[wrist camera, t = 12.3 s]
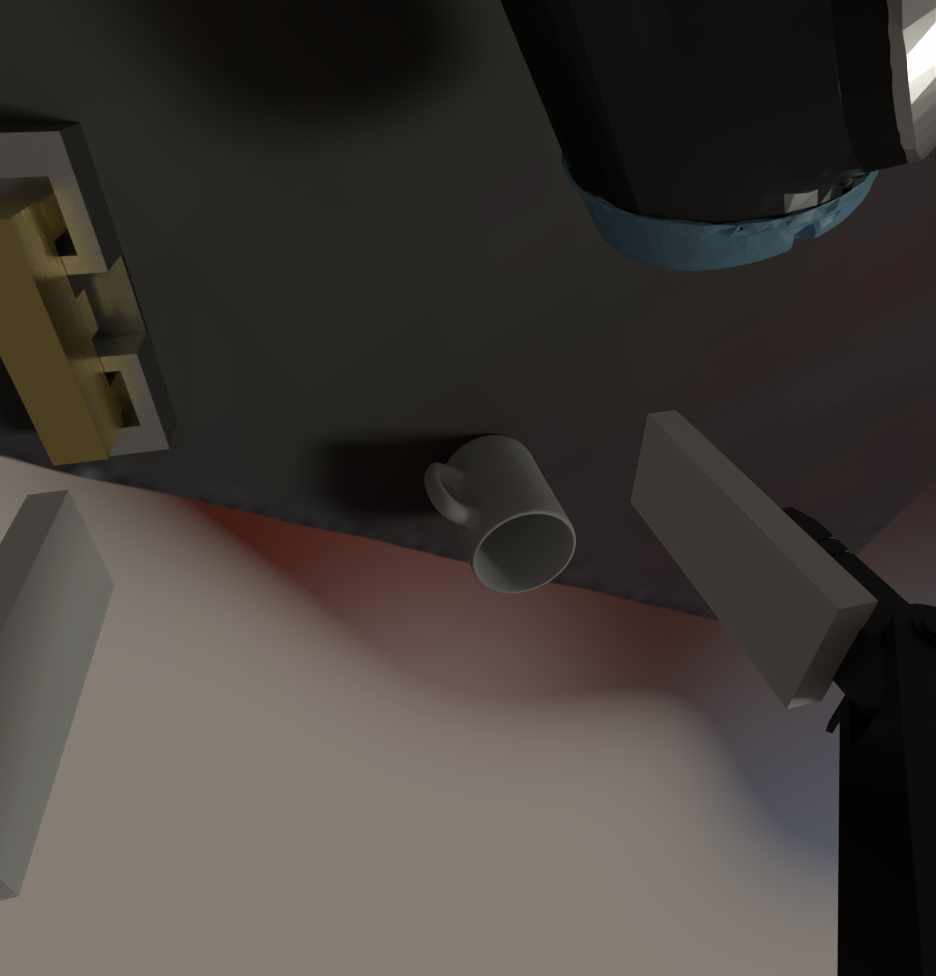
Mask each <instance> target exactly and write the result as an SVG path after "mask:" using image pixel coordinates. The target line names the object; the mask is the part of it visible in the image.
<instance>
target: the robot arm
mask: <svg viewBox="0 0 936 976" xmlns="http://www.w3.org/2000/svg"><path fill="white" fill-rule="evenodd" d="M500 1H501V3H502V5H503V8H504V10H505V13H506V15H507V18H508V20H509V22H510V25H511V27H512V30H513V32H514V35H515V37H516V40H517V42H518V44H519V47H520V49H521V52H522V54H523V57H524V59H525V62H526V64H527V66H528V69H529V71H530V74H531V76H532V79H533V81H534V84H535V86H536V88H537V91H538V93H539V96H540V98H541V101H542V103H543V105H544V108H545V110H546V113H547V115H548V118H549V120H550V123H551V125H552V127H553V130H554V132H555V135H556V137H557V140H558V142H559V145H560V147H561V149H562V163H563V166H564V169H565V172H566V174H567V177H568V179H569V181H570V182H571V184H572V185H573V186H574V188H576V190H577V191H578V192H579V194H580V195H581V196H582V198H583V200H584V202H585V204H586V207H587V209H588V211H589V213H590V215H591V217H592V220H593V222H594V224H595V226H596V228H597V230H598V231H599V233H600V235H601V236H602V237H603V238H604V239H605V241H607V242H608V243H609V244H610V245H611V246H613V247H614V248H615V249H616V250H617V251H618V252H619V253H621V254H622V255H624V256H625V257H627V258H629V259H631V260H634V261H636V262H639V263H641V264H644V265H647V266H651V267H655V268H661V269H668V270H681V271H699V270H714V269H723V268H729V267H735V266H740V265H745V264H749V263H753V262H756V261H760V260H763V259H767V258H770V257H773V256H776V255H779V254H781V253H784V252H786V251H788V250H790V248H791V247H792V244H793V240H794V239H797V238H808V239H815V238H817V237H818V236H820V235H822V234H823V233H825V232H827V231H829V230H830V229H832V228H833V227H835V226H836V225H838V224H839V223H840V222H842V221H843V220H844V219H845V218H846V217H848V216H849V215H850V214H851V213H852V212H853V211H854V210H855V208H856V207H857V206H858V205H859V204H860V203H861V202H862V201H863V199H864V198H865V197H866V195H867V193H868V192H869V190H870V188H871V185H872V183H873V181H874V179H875V177H876V175H877V174H878V171H879V170H881V169H885V168H889V167H894V166H898V165H902V164H906V163H911V162H915V161H919V160H922V159H924V158H925V157H926V156H927V155H928V154H929V153H930V152H931V151H932V150H933V149H934V148H935V147H936V0H500ZM631 503H632V504H633V505H634V507H635V508H636V509H637V511H638V512H639V513H640V515H641V516H642V517H643V519H644V520H645V521H646V523H647V524H648V525H649V527H650V528H651V529H652V531H653V532H654V533H655V535H656V536H657V537H658V539H659V540H660V541H661V543H662V544H663V545H664V547H665V548H666V549H667V551H668V552H669V553H670V555H671V556H672V557H673V559H674V560H675V561H676V563H677V564H678V565H679V567H680V568H681V569H682V571H683V572H684V573H685V575H686V576H687V577H688V579H689V580H690V581H691V582H692V584H693V585H694V586H695V588H696V589H697V590H698V592H699V593H700V594H701V596H702V597H703V598H704V600H705V601H706V602H707V604H708V605H709V606H710V608H711V609H712V610H713V612H714V613H715V614H716V616H717V617H718V618H719V620H720V621H721V622H722V624H723V625H724V626H725V628H726V629H727V630H728V632H729V633H730V634H731V636H732V637H733V638H734V640H735V641H736V642H737V643H738V645H739V646H740V647H741V649H742V650H743V652H744V653H745V654H746V656H747V657H748V658H749V659H750V661H751V662H752V663H753V665H754V666H755V667H756V669H757V670H758V671H759V673H760V674H761V675H762V677H763V678H764V679H765V681H766V682H767V683H768V685H769V686H770V687H771V689H772V690H773V691H774V693H775V694H776V695H777V697H778V698H779V699H780V701H781V702H782V703H783V705H784V706H785V707H786V709H789V708H794V707H798V706H802V705H806V704H810V703H814V702H818V701H822V699H823V697H824V696H825V694H826V692H827V690H828V689H829V687H830V685H831V683H832V682H833V681H834V682H835V683H836V684H837V685H838V686H839V688H840V689H841V690H842V691H843V692H844V693H845V696H844V698H843V699H842V701H841V703H840V704H839V706H838V708H837V709H836V711H835V713H834V714H833V716H832V718H831V719H830V721H829V723H828V726H827V729H826V731H827V732H830V733H833V731H834V730H835V728H836V726H837V725H838V724H839V723H840V759H839V768H840V769H839V868H838V869H839V872H838V976H936V607H934V606H928V605H923V604H909V603H908V602H906V601H905V600H904V599H903V598H902V597H901V596H900V595H899V594H897V593H896V592H895V591H894V590H893V589H892V588H891V587H889V585H887V584H886V583H885V582H884V581H883V580H882V579H881V578H880V577H879V576H878V575H876V574H875V573H874V572H873V571H872V570H871V569H870V568H868V566H866V565H865V564H864V563H863V562H862V561H861V560H860V559H859V558H857V557H856V556H855V555H854V554H850V553H849V549H848V548H846V547H845V546H844V545H843V544H842V543H841V542H840V541H839V540H835V539H834V536H833V535H832V534H831V533H830V532H829V531H828V530H826V529H825V528H824V527H823V526H822V525H821V524H820V523H819V522H818V521H816V520H815V519H813V518H811V517H809V516H807V515H806V514H804V513H802V512H800V511H798V510H796V509H794V508H793V507H789V508H783V509H780V508H779V507H778V506H777V505H776V504H775V503H774V502H773V501H772V500H771V499H770V498H769V497H768V496H767V495H765V494H764V493H763V492H762V491H761V490H760V489H759V488H758V487H757V486H756V485H755V484H754V483H753V482H752V481H751V480H750V479H749V478H747V477H746V476H745V475H744V474H743V473H742V472H741V471H740V470H739V469H738V468H737V467H736V466H735V465H734V464H733V463H732V462H730V461H729V460H728V459H727V458H726V457H725V456H724V455H723V454H722V453H721V452H720V451H719V450H718V449H717V448H716V447H715V446H713V445H712V444H711V443H710V442H709V441H708V440H707V439H706V438H705V437H704V436H703V435H702V434H701V433H700V432H699V431H698V430H697V429H695V428H694V427H693V426H692V425H691V424H690V423H689V422H688V421H687V420H686V419H685V418H684V417H683V416H682V415H681V414H680V413H678V412H677V411H676V410H673V411H666V412H658V413H650V414H648V416H647V421H646V427H645V432H644V437H643V442H642V447H641V452H640V457H639V462H638V467H637V472H636V477H635V482H634V488H633V493H632V498H631ZM113 588H114V582H113V580H112V578H111V576H110V574H109V572H108V570H107V568H106V566H105V564H104V562H103V560H102V558H101V556H100V553H99V551H98V549H97V547H96V545H95V543H94V541H93V539H92V537H91V535H90V533H89V531H88V529H87V527H86V525H85V523H84V521H83V519H82V516H81V514H80V512H79V510H78V508H77V506H76V504H75V502H74V500H73V498H72V496H71V494H70V492H69V490H63V491H56V492H48V493H41V494H32V495H27V497H26V499H25V501H24V503H23V504H22V506H21V508H20V510H19V511H18V513H17V515H16V517H15V519H14V520H13V522H12V524H11V526H10V528H9V529H8V531H7V533H6V535H5V536H4V538H3V540H2V542H1V544H0V900H4V899H8V898H12V897H16V896H19V893H20V890H21V886H22V883H23V880H24V877H25V873H26V870H27V867H28V864H29V861H30V857H31V854H32V851H33V847H34V844H35V841H36V837H37V834H38V831H39V828H40V825H41V822H42V818H43V815H44V812H45V809H46V805H47V802H48V799H49V796H50V792H51V789H52V786H53V783H54V779H55V776H56V773H57V770H58V766H59V763H60V760H61V757H62V753H63V750H64V747H65V744H66V740H67V737H68V734H69V731H70V727H71V724H72V721H73V717H74V714H75V711H76V708H77V705H78V701H79V698H80V695H81V692H82V688H83V685H84V682H85V679H86V676H87V672H88V669H89V666H90V662H91V659H92V656H93V653H94V650H95V646H96V643H97V640H98V637H99V633H100V630H101V627H102V624H103V620H104V617H105V614H106V610H107V607H108V604H109V601H110V597H111V594H112V591H113Z"/></svg>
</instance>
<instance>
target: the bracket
mask: <svg viewBox="0 0 936 976" xmlns="http://www.w3.org/2000/svg"><path fill="white" fill-rule="evenodd" d="M30 196H50V199H51V202H52V204H53V207H54V210H55V213H56V215H57V218H58V221H59V223H60V226H61V229H62V231H63V234H62V235H61V236H59V237H58V238H57V239H56V240H55V241H54V244H55V246H56V249H57V251H58V254H59V257H60V259H61V262H62V264H63V267H64V270H65V272H66V275H67V277H68V280H69V283H70V285H71V288H72V290H77V289H84V290H85V293H86V296H87V298H88V301H89V304H90V306H91V309H92V312H93V314H94V317H95V320H96V322H97V325H98V328H99V329H98V330H97V332H96V333H95V335H94V336H93V338H92V342H93V345H94V348H95V350H96V353H97V355H98V358H99V361H100V363H101V366H102V368H103V371H104V374H105V376H110V375H116V376H117V379H118V381H119V384H120V387H121V389H122V392H123V395H124V397H125V400H126V403H125V405H124V407H123V410H122V412H121V414H120V415H121V418H122V420H123V425H122V428H121V430H120V432H119V435H118V437H117V440H116V442H115V445H114V447H113V449H112V452H111V454H110V456H115V455H123V454H131V453H139V452H147V451H155V450H164V449H170V445H171V442H172V438H173V435H174V431H175V427H176V424H177V418H176V415H175V412H174V408H173V405H172V402H171V399H170V396H169V393H168V390H167V387H166V384H165V381H164V378H163V375H162V372H161V369H160V366H159V363H158V360H157V357H156V354H155V350H154V347H153V344H152V341H151V338H150V335H149V332H148V329H147V326H146V323H145V320H144V317H143V314H142V311H141V308H140V305H139V302H138V299H137V295H136V292H135V289H134V286H133V283H132V280H131V277H130V274H129V271H128V268H127V265H126V262H125V259H124V256H123V253H122V250H121V247H120V244H119V240H118V237H117V234H116V231H115V228H114V225H113V222H112V219H111V216H110V213H109V210H108V207H107V204H106V201H105V198H104V195H103V192H102V189H101V185H100V182H99V179H98V176H97V173H96V170H95V167H94V164H93V161H92V158H91V155H90V152H89V149H88V146H87V143H86V140H85V137H84V134H83V130H82V127H81V124H80V123H52V124H15V125H0V198H7V197H30Z"/></svg>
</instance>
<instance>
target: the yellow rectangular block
mask: <svg viewBox="0 0 936 976" xmlns="http://www.w3.org/2000/svg"><path fill="white" fill-rule="evenodd" d="M62 234H63V231H62V229H61V226H60V223H59V221H58V218H57V215H56V213H55V210H54V207H53V204H52V202H51V199H50V196H30V197H7V198H0V356H1V358H2V360H3V362H4V365H5V367H6V369H7V371H8V373H9V375H10V377H11V379H12V381H13V383H14V385H15V387H16V389H17V391H18V393H19V395H20V397H21V399H22V402H23V404H24V406H25V408H26V410H27V412H28V414H29V416H30V418H31V420H32V422H33V424H34V426H35V428H36V430H37V432H38V434H39V436H40V439H41V441H42V443H43V445H44V447H45V449H46V451H47V453H48V455H49V457H50V459H51V461H52V463H53V465H62V464H70V463H78V462H87V461H95V460H103V459H109V457H110V454H111V452H112V449H113V447H114V445H115V442H116V440H117V437H118V435H119V432H120V430H121V428H122V425H123V420H122V418H121V415H120V414H121V412H122V410H123V407H124V405H125V403H126V400H125V397H124V395H123V392H122V389H121V387H120V384H119V381H118V379H117V376H116V375H110V376H105V374H104V371H103V368H102V366H101V363H100V361H99V358H98V355H97V353H96V350H95V348H94V345H93V342H92V338H93V336H94V335H95V333H96V332H97V330H98V329H99V328H98V325H97V322H96V320H95V317H94V314H93V312H92V309H91V306H90V304H89V301H88V298H87V296H86V293H85V290H84V289H77V290H72V288H71V285H70V283H69V280H68V277H67V275H66V272H65V270H64V267H63V264H62V262H61V259H60V257H59V254H58V251H57V249H56V246H55V244H54V241H55V240H56V239H57V238H58V237H59V236H61V235H62Z"/></svg>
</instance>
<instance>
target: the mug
mask: <svg viewBox="0 0 936 976" xmlns="http://www.w3.org/2000/svg"><path fill="white" fill-rule="evenodd" d="M441 482H442V483H441ZM424 484H425V488H426V491H427V494H428V496H429V498H430V500H431V502H432V504H433V505H434V507H435V508H436V509H437V510H438V512H440V513H441V514H442V515H443V516H444V517H446V518H448V519H449V520H451V521H453V522H455V524H456V527H457V529H458V532H459V535H460V538H461V541H462V543H463V546H464V549H465V552H466V555H467V557H468V560H469V563H470V566H471V568H472V571H473V573H474V575H475V576H476V578H477V579H478V580H479V582H480V583H481V584H483V585H484V586H485V587H487V588H489V589H491V590H494V591H497V592H502V593H519V592H525V591H529V590H532V589H535V588H538V587H540V586H542V585H544V584H546V583H547V582H549V581H551V580H552V579H553V578H555V577H556V576H557V575H558V574H559V573H560V572H561V571H562V570H563V569H564V568H565V567H566V566H567V564H568V563H569V561H570V560H571V558H572V555H573V553H574V550H575V545H576V537H575V532H574V529H573V527H572V524H571V523H570V521H569V519H568V517H567V516H566V514H565V512H564V511H563V509H562V507H561V506H560V504H559V502H558V501H557V499H556V497H555V496H554V494H553V492H552V491H551V489H550V487H549V486H548V484H547V482H546V481H545V479H544V477H543V475H542V474H541V472H540V470H539V468H538V467H537V465H536V463H535V461H534V459H533V457H532V456H531V454H530V453H529V451H528V450H527V449H526V447H525V446H524V445H522V444H521V443H520V442H518V441H517V440H515V439H513V438H510V437H507V436H502V435H488V436H483V437H479V438H476V439H473V440H471V441H469V442H467V443H466V444H464V445H463V446H461V447H460V448H459V449H458V450H457V451H456V452H455V453H454V454H453V455H452V456H451V457H450V459H449V460H448V462H447V464H442V463H433V464H431V465H429V467H428V468H427V470H426V472H425V476H424Z"/></svg>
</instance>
